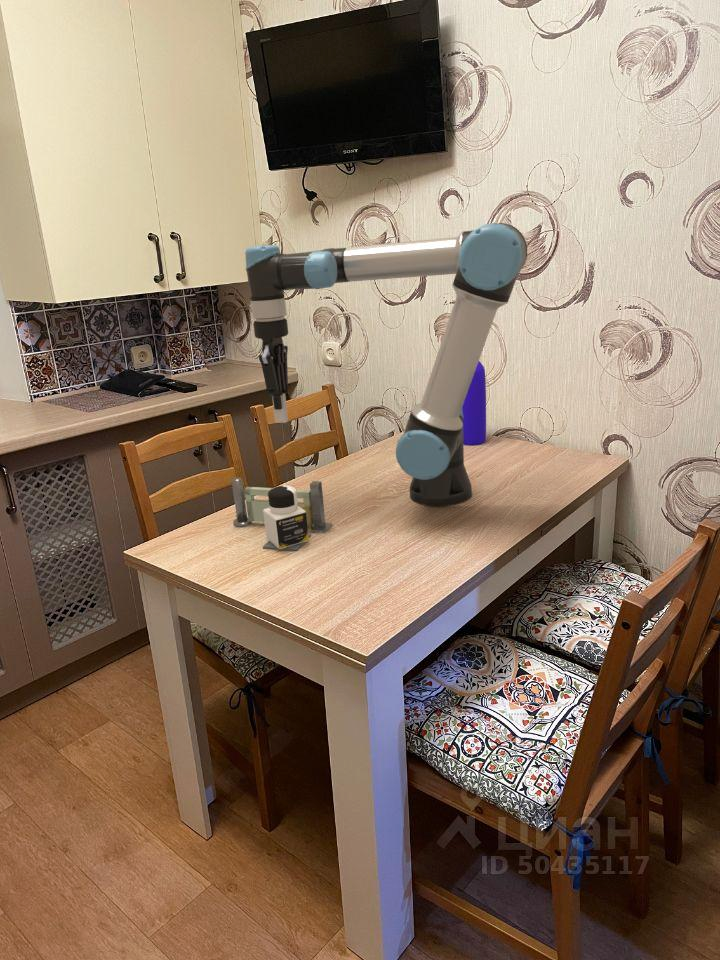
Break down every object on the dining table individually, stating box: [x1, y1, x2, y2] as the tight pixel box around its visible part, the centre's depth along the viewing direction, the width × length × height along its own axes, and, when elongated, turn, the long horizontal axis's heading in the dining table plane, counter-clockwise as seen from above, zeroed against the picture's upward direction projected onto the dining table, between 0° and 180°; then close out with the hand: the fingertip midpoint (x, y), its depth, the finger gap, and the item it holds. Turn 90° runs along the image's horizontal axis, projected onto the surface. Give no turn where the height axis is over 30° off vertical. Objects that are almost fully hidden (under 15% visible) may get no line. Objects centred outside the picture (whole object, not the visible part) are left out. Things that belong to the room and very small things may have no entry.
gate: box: [243, 486, 314, 524], centre depth 161 cm, size 16×1×8 cm, turn 70°
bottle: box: [462, 360, 487, 446], centre depth 208 cm, size 8×8×30 cm
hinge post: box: [231, 476, 253, 528], centre depth 164 cm, size 4×4×11 cm
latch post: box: [299, 480, 333, 534], centre depth 158 cm, size 6×4×11 cm
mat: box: [262, 533, 312, 552], centre depth 154 cm, size 8×8×1 cm
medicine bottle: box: [263, 485, 310, 549], centre depth 152 cm, size 7×7×12 cm
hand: (281, 421), depth 164 cm, fingers closed
